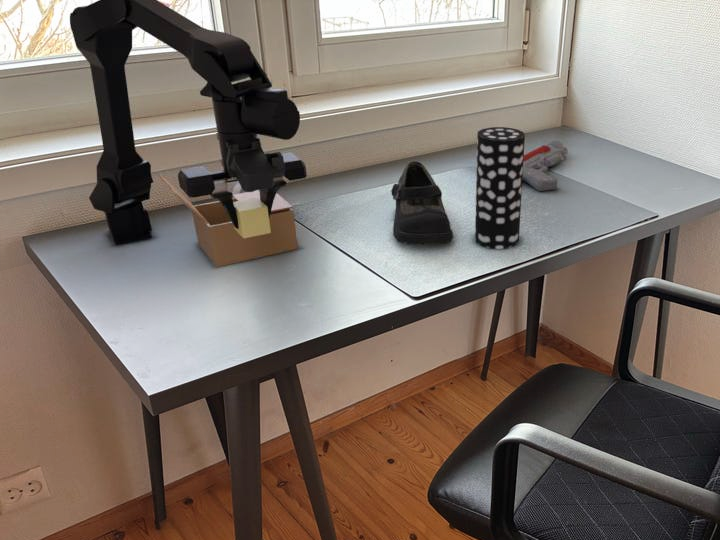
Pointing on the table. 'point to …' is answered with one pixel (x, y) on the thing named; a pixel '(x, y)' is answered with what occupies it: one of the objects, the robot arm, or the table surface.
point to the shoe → (419, 208)
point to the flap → (182, 198)
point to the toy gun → (542, 165)
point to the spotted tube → (499, 186)
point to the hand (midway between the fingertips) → (251, 225)
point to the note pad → (252, 218)
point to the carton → (230, 245)
